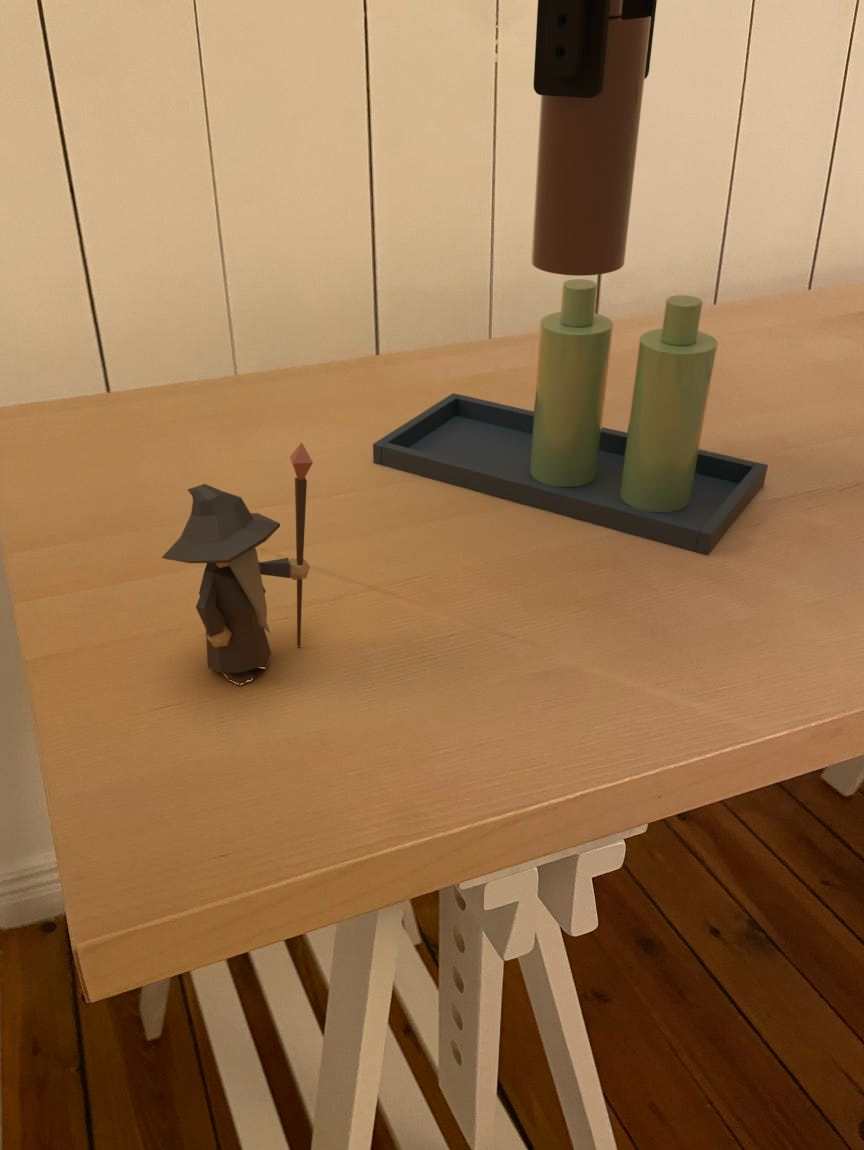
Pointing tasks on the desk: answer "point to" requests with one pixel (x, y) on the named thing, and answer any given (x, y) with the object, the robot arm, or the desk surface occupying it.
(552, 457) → the green bottle
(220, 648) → the wizard figurine
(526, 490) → the tray
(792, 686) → the desk surface
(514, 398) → the desk surface
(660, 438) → the green bottle
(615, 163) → the brown bottle
